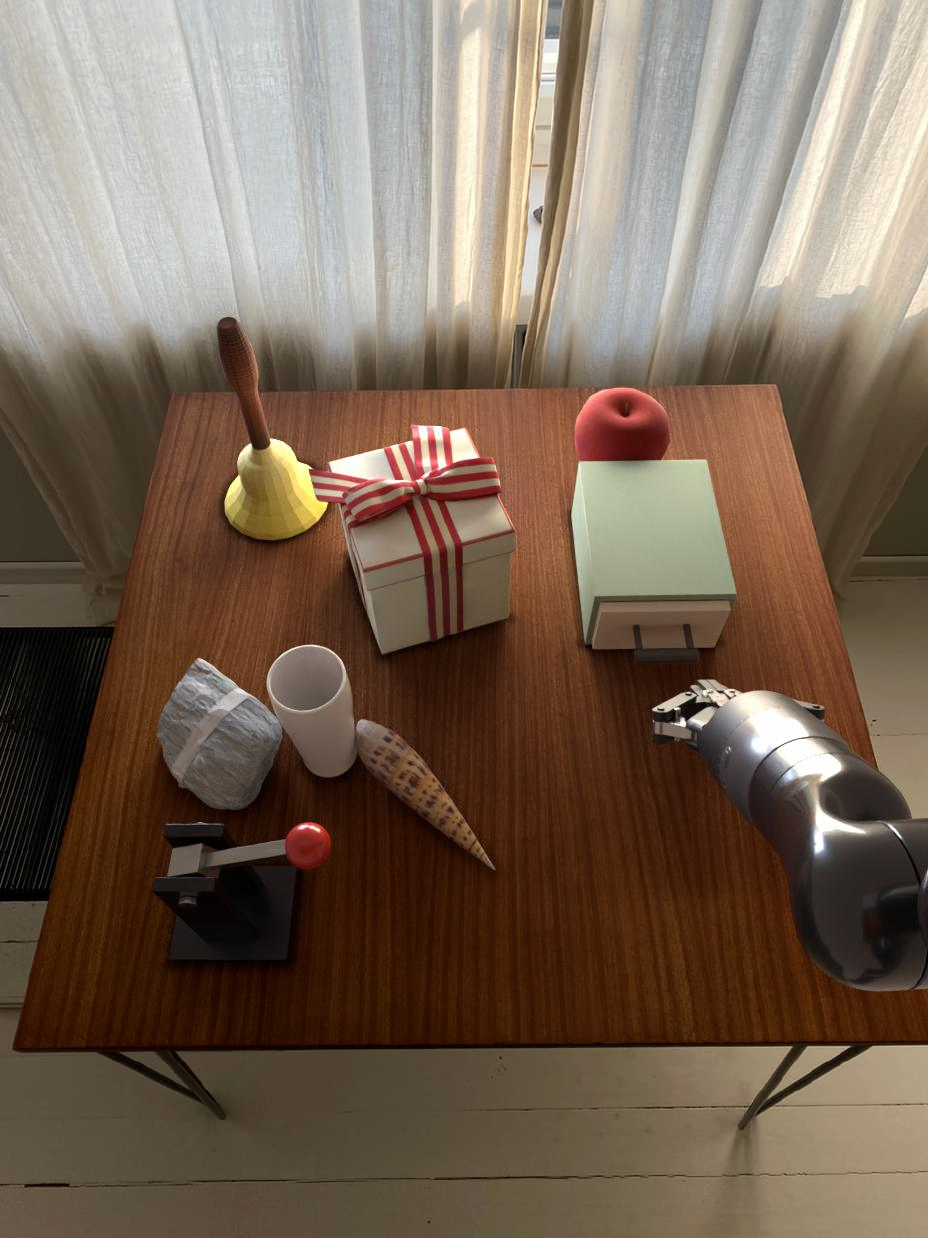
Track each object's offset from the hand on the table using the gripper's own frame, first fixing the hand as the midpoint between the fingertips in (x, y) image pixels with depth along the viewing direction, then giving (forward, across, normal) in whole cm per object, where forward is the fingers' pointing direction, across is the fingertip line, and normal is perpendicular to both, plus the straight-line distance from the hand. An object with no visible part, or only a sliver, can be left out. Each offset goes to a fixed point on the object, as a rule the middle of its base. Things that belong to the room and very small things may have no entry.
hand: (704, 691), depth 71 cm
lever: (-9, -35, -10) cm, 37 cm away
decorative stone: (+13, -43, -9) cm, 46 cm away
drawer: (+24, 0, +4) cm, 24 cm away
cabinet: (+27, 0, +6) cm, 28 cm away
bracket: (+2, -40, -20) cm, 45 cm away
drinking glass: (+12, -33, -9) cm, 36 cm away
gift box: (+27, -25, +6) cm, 37 cm away
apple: (+38, -1, +16) cm, 41 cm away
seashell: (+9, -24, -13) cm, 28 cm away
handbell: (+35, -41, +14) cm, 56 cm away
